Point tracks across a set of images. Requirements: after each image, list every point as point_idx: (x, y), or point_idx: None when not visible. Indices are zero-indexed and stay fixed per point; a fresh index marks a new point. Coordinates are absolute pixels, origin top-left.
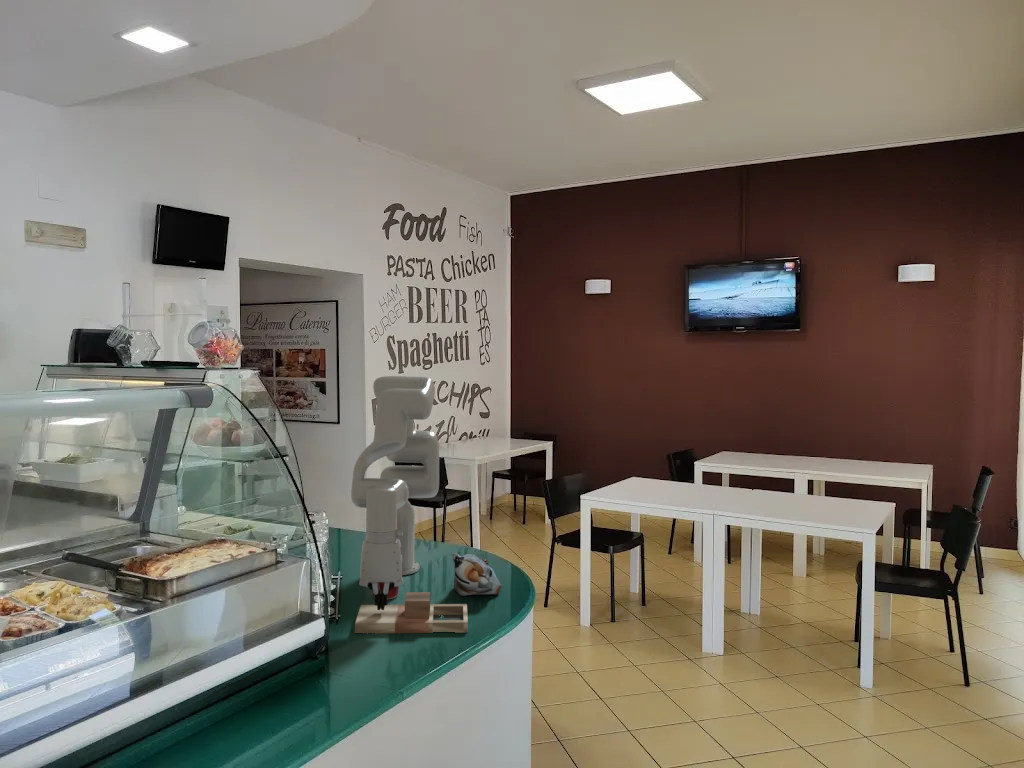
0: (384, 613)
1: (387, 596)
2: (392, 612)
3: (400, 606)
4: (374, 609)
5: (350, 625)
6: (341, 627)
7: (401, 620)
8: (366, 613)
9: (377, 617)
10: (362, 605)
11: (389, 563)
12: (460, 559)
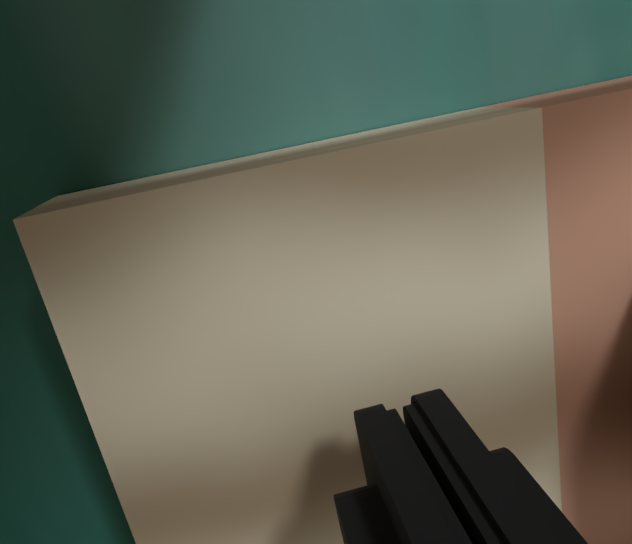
0: None
1: (562, 517)
2: (506, 373)
3: (573, 171)
4: (272, 338)
5: (80, 481)
6: (15, 539)
7: (616, 523)
8: (217, 471)
9: None
10: (47, 239)
11: None
12: None
